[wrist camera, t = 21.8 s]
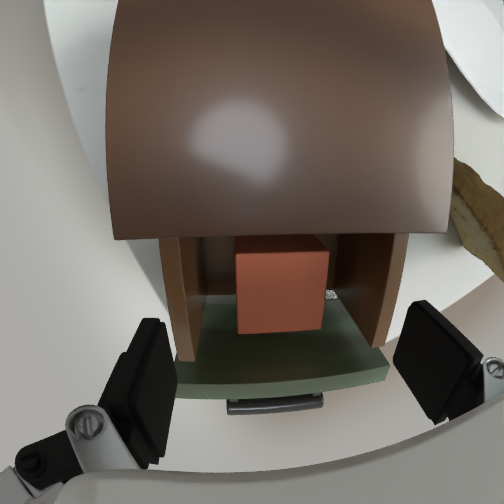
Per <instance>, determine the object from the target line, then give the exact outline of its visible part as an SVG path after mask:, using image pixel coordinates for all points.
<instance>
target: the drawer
mask: <svg viewBox="0 0 504 504" xmlns="http://www.w3.org/2000/svg"><path fill="white" fill-rule="evenodd" d="M314 235H315V236H316V237H317V238H318V240H319V241H320V242H321V243H322V244H323V245H324V246H325V247H326V248H327V249H328V250H329V252H330V255H329V266H328V276H327V285H326V290H333V291H334V292H335V294H336V295H337V297H338V299H325V302H324V310H323V318H322V325H321V329H316V330H304V331H291V332H276V333H256V334H238V327H237V305H236V304H214V305H205V304H206V299H207V295H236V281H235V236H210V237H181V238H158V239H159V248H160V256H161V264H162V271H163V278H164V285H165V291H166V297H167V303H168V309H169V315H170V320H171V326H172V331H173V335H174V341H175V346H176V350H177V353H176V357H175V361H174V365H175V369H176V373H177V378H178V384H177V390H176V395H175V398H186V399H227V414H228V415H250V414H269V413H281V412H291V411H300V410H308V409H315V408H321V407H322V406H323V402H324V399H323V393H322V392H326V391H332V390H338V389H344V388H350V387H355V386H360V385H365V384H370V383H375V382H379V381H383V380H385V378H386V375H387V373H388V370H389V367H390V364H389V363H388V361H387V360H386V358H385V356H384V355H383V353H382V352H381V350H380V349H379V347H381V346H384V345H385V341H386V338H387V334H388V331H389V327H390V324H391V320H392V316H393V312H394V308H395V304H396V300H397V296H398V291H399V287H400V282H401V277H402V272H403V267H404V262H405V256H406V250H407V243H408V237H409V233H356V234H314Z"/></svg>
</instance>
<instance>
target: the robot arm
mask: <svg viewBox="0 0 504 504" xmlns="http://www.w3.org/2000/svg"><path fill="white" fill-rule="evenodd" d="M482 358H483V354H482V353H481V352H480V351H479V350H478V349H477V348H476V347H475V346H474V345H473V344H472V343H471V342H470V341H469V340H468V339H467V338H466V337H465V336H464V335H463V334H462V333H461V332H460V331H459V330H458V329H457V328H456V327H455V326H454V325H453V324H451V322H450V321H448V320H447V319H446V318H445V317H444V316H443V315H442V314H441V313H440V312H439V311H438V310H437V309H435V308H434V307H433V306H432V305H431V304H430V303H429V302H428V301H426V300H421V301H415V302H413V303H412V304H411V306H409V308H408V311H407V314H406V318H405V321H404V325H403V328H402V331H401V334H400V338H399V341H398V344H397V347H396V350H395V353H394V356H393V364H394V366H395V367H396V369H397V370H398V372H399V373H400V375H401V376H402V378H403V379H404V381H405V382H406V384H407V385H408V387H409V388H410V390H411V391H412V393H413V395H414V396H415V398H416V399H417V401H418V403H419V404H420V406H421V407H422V409H423V411H424V412H425V414H426V416H427V417H428V418H429V419H431V420H432V421H433V423H434V425H436V424H438V423H441V422H443V421H445V419H446V417H448V418H449V422H447V423H445V424H443V425H441V426H439V427H436V428H434V429H432V430H429V431H427V432H425V433H422V434H420V435H418V436H415V437H412V438H410V439H407V440H404V441H402V442H399V443H396V444H393V445H390V446H387V447H384V448H381V449H378V450H375V451H371V452H367V453H364V454H360V455H356V456H353V457H349V458H344V459H340V460H336V461H331V462H326V463H320V464H315V465H309V466H303V467H297V468H289V469H280V470H271V471H257V472H235V473H199V472H181V471H162V470H146V469H148V466H149V463H150V464H157V465H158V463H159V457H164V455H165V450H166V444H167V439H168V433H169V427H170V422H171V416H172V411H173V405H174V400H175V395H176V390H177V384H178V378H177V373H176V369H175V365H174V361H173V357H172V352H171V348H170V344H169V339H168V334H167V329H166V325H165V323H164V322H160V319H159V318H143V319H142V321H141V323H140V325H139V327H138V329H137V331H136V333H135V335H134V337H133V339H132V341H131V343H130V346H129V348H128V350H127V352H123V353H121V355H120V356H119V359H118V361H117V363H116V365H115V367H114V369H113V371H112V374H111V376H110V378H109V380H108V382H107V384H106V387H105V389H104V391H103V393H102V396H101V398H100V400H99V402H98V405H97V406H95V405H83V406H80V407H78V408H76V409H74V410H73V411H72V412H71V413H70V414H69V415H68V417H67V419H66V424H65V425H66V430H64V431H62V432H59V433H57V434H55V435H52V436H50V437H48V438H45V439H43V440H40V441H38V442H35V443H33V444H30V445H27V446H25V447H24V448H22V449H21V450H20V451H19V452H18V454H17V455H16V458H15V467H14V468H12V467H11V466H9V467H7V468H6V469H5V470H4V471H3V472H1V473H0V504H504V361H503V360H501V359H499V358H496V357H490V358H487V359H486V360H485V361H484V363H483V364H481V363H480V362H481V359H482Z"/></svg>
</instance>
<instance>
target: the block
mask: <svg viewBox="0 0 504 504" xmlns="http://www.w3.org/2000/svg"><path fill="white" fill-rule="evenodd" d="M329 255H330V252H329V250H328V249H327V248H326V247H325V246H324V245H323V244H322V243H321V242H320V241H319V240H318V238H317V237H316V236H315V235H314V234H286V235H244V236H235V281H236V305H237V327H238V334H256V333H276V332H291V331H304V330H316V329H321V325H322V318H323V310H324V302H325V294H326V285H327V276H328V266H329Z"/></svg>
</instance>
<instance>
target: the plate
mask: <svg viewBox="0 0 504 504" xmlns="http://www.w3.org/2000/svg"><path fill="white" fill-rule="evenodd" d="M432 2H433V5H434V8H435V12H436V15H437V19H438V22H439V26H440V30H441V34H442V39H443V43H444V48H445V50H446V51H447V52H448V54H449V55H450V57H451V58H452V59H453V61H454V62H455V64H456V65H457V67H458V68H459V70H460V71H461V73H462V74H463V76H464V77H465V78H466V79H467V81H468V82H469V83H470V84H471V86H472V87H473V88H474V90H475V91H476V92H477V94H478V95H479V96H480V97H481V98H482V99H483V100H484V101H485V102H486V103H487V104H488V105H489V106H490V107H491V108H492V110H493V111H494V112H495V113H497V114H498V115H500V116H501V117H503V118H504V3H503V1H502V0H432Z"/></svg>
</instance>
